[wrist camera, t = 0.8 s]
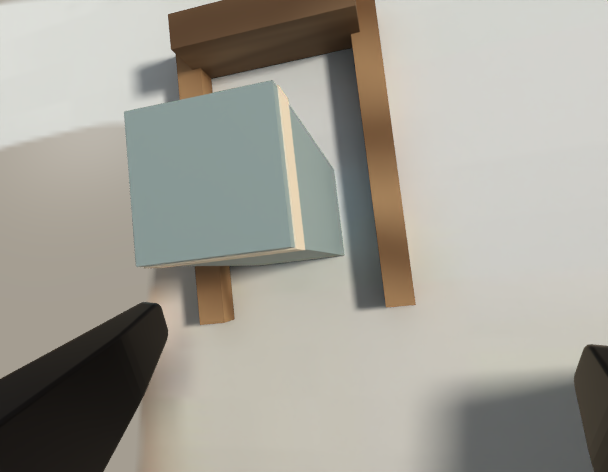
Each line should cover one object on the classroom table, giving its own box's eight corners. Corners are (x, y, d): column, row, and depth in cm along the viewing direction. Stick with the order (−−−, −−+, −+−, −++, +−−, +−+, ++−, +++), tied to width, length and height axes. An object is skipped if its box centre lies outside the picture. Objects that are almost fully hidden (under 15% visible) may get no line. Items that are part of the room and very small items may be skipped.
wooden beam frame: (414, 302, 24) (417, 309, 20) (211, 321, 26) (178, 331, 22) (375, 8, 25) (370, -39, 21) (186, 53, 28) (151, 18, 24)
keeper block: (345, 256, 25) (292, 248, 12) (260, 266, 26) (134, 268, 13) (334, 168, 25) (274, 78, 13) (251, 182, 26) (122, 110, 14)
